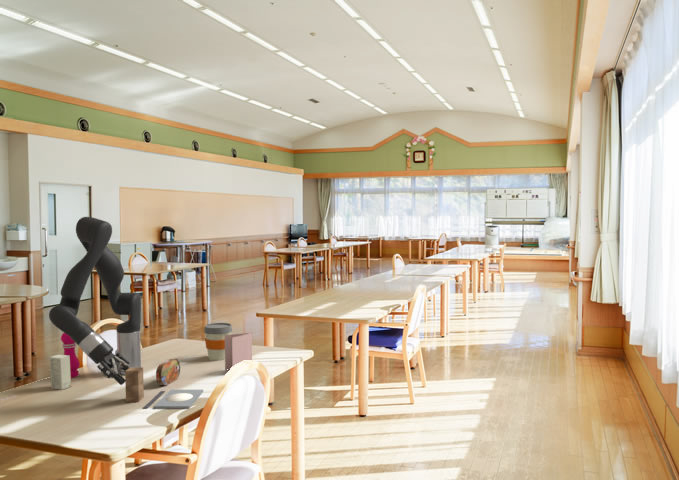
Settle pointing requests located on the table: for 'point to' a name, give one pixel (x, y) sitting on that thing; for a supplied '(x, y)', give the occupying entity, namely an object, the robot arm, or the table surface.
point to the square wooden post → (134, 384)
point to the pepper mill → (70, 354)
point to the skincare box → (60, 371)
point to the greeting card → (237, 349)
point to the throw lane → (175, 399)
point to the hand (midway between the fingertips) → (128, 379)
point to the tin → (168, 372)
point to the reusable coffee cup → (216, 339)
